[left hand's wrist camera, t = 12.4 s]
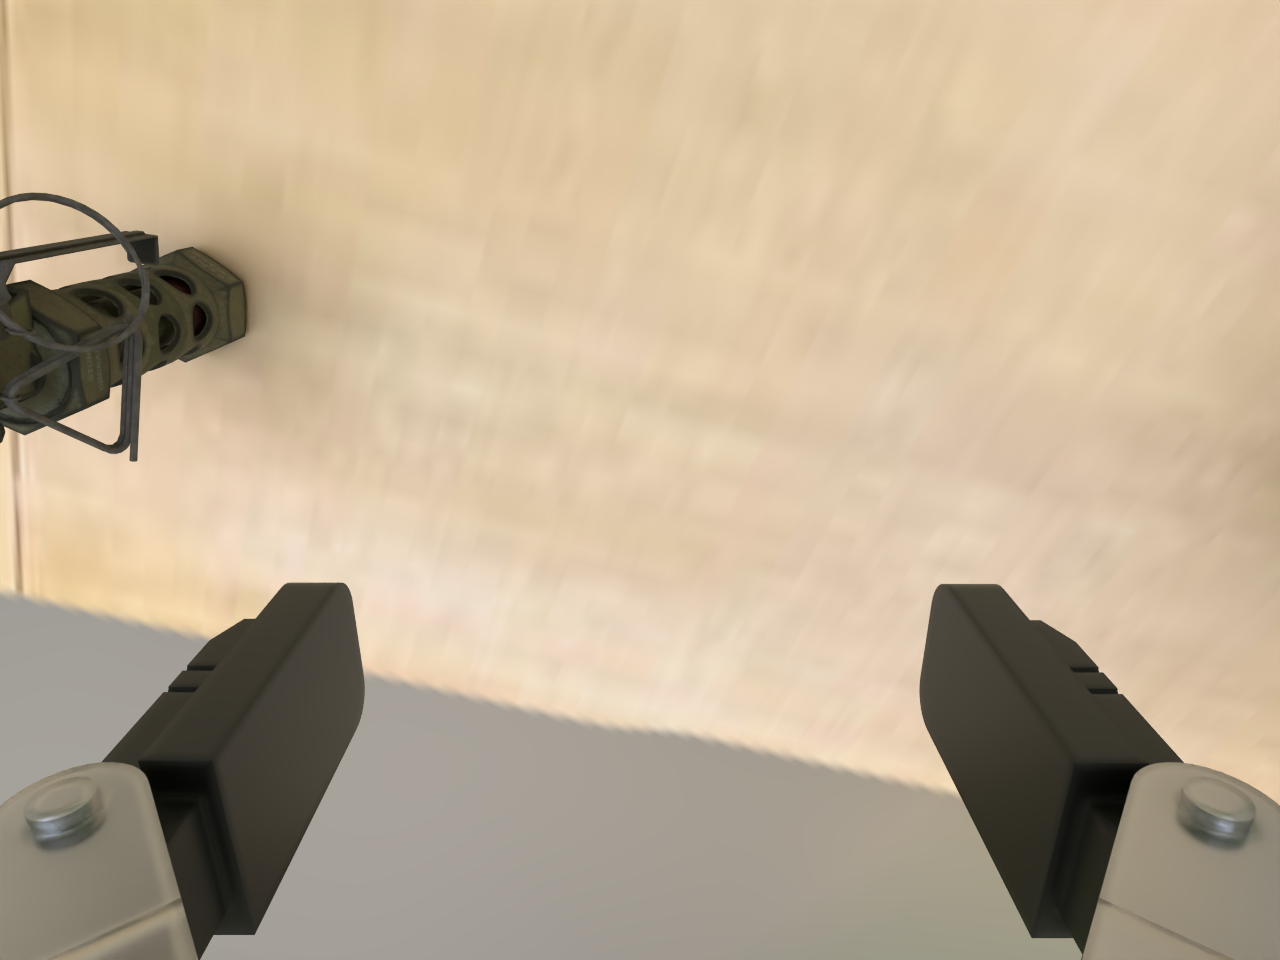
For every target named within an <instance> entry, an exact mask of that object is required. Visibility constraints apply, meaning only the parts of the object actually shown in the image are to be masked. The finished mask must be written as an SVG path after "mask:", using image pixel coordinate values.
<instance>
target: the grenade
mask: <svg viewBox="0 0 1280 960" xmlns="http://www.w3.org/2000/svg"><path fill="white" fill-rule="evenodd" d="M28 200H40V201H51V202H55V203H59V204H62V205H65V206H69V207H72V208H74V209H76V210H79V211H81V212H82V213H84V214H86V215H88V216H89V217H91V218H93V219H94V220H96V221H97V222H98V223H100V224H101V225H102V226H104V227H105V228H106V229H107V230H108V231H109V232H110V233H111V234H105V235H99V236H93V237H87V238H81V239H75V240H69V241H63V242H57V243H51V244H45V245H39V246H33V247H27V248H21V249H15V250H9V251H3V252H0V443H1V442H2V441H3V438H4V435H5V429H4V426H5V427H7V428H9V429H11V430H14V431H16V432H18V433H21V434H23V435H27V434H29V433H31V432H34V431H36V430H38V429H41V428H43V427H45V426H49V427H51V428H53V429H55V430H57V431H60V432H62V433H64V434H66V435H69V436H71V437H73V438H75V439H78V440H80V441H82V442H84V443H87V444H89V445H91V446H93V447H95V448H98V449H100V450H102V451H105V452H108V453H110V454H117V453H121V452H123V451H124V450H126V449H127V448H128V446H129V445H130V461H132V462H134V461H137V453H138V432H139V411H140V390H141V375H143V374H145V373H146V372H147V371H151V370H155V369H157V368H160V367H162V366H165V365H167V364H169V363H172V362H174V361H175V360H177V359H179V360H181V361H183V362H188V361H190V360H192V359H195V358H197V357H199V356H201V355H204V354H206V353H208V352H211V351H213V350H215V349H218V348H220V347H222V346H224V345H227V344H229V343H231V342H233V341H236V340H238V339H240V338H242V337H244V336H245V329H246V302H245V293H244V287H243V282H242V281H241V280H240V279H239V278H237V277H236V276H235V275H234V274H233V273H232V272H230V271H229V270H228V269H226V268H225V267H223V266H222V265H221V264H219V263H218V262H216V261H215V260H213V259H212V258H210V257H209V256H207V255H205V254H204V253H202V252H200V251H198V250H197V249H195V248H193V247H190V248H185V249H180V250H176V251H174V252H171V253H169V254H167V255H164V256H162V257H160V258H159V248H158V236H156V235H149V234H145V233H144V232H143V231H132V232H128V231H123V232H120V231H119V230H118V229H117V228H116V227H115V226H114V225H113V224H112V223H111V222H110V221H109V220H107V219H106V218H105V217H103V216H102V215H101V214H99V213H98V212H96V211H94V210H93V209H91V208H89V207H87V206H86V205H84V204H81V203H79V202H77V201H74V200H72V199H69V198H65V197H62V196H58V195H53V194H47V193H24V194H18V195H14V196H10V197H7V198H5V199H2V200H0V209H1V208H3V207H5V206H7V205H10V204H12V203H14V202H21V201H28ZM117 244H121V245H122V246H123V248H124V249H125V250H126V252H127V257H128V261H130V262H134V263H136V265H137V267H138V268H136V269H134V270H132V271H130V272H127V273H122V274H117V275H113V276H108V277H106V278H103V279H99V280H92V281H87V282H82V283H78V284H73V285H69V286H65V287H62V288H59V289H56V290H50V289H48V288H46V287H44V286H42V285H40V284H38V283H36V282H34V281H32V280H27V281H22V282H17V283H12V284H7V285H6V282H7V280H8V278H9V276H10V273H11V271H12V269H13V267H14V265H15V264H16V263H21V262H27V261H32V260H37V259H43V258H48V257H53V256H59V255H64V254H69V253H75V252H80V251H85V250H91V249H96V248H101V247H107V246H112V245H117ZM142 264H144V265H142ZM121 384H122V400H121V422H120V435H119V437H118V440H117V442H115V443H114V444H113V445H106V444H104V443H102V442H100V441H97V440H95V439H93V438H91V437H89V436H86V435H84V434H82V433H80V432H78V431H76V430H73V429H71V428H69V427H67V426H65V425H62V424H60V423H58V422H57V421H59V420H61V419H64V418H66V417H68V416H70V415H73V414H75V413H77V412H80V411H82V410H84V409H86V408H89V407H91V406H93V405H95V404H97V403H100V402H102V401H104V400H106V399H108V398H109V396H110V388H111V387H115V386H118V385H121Z"/></svg>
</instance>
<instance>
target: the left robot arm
mask: <svg viewBox="0 0 1280 960" xmlns="http://www.w3.org/2000/svg"><path fill="white" fill-rule="evenodd" d="M364 692H365V686H364V675H363V668H362V661H361V655H360V648H359V641H358V634H357V628H356V621H355V614H354V608H353V601H352V596H351V593H350V590H349V588H348V587H347V585H346V584H344V583H287V584H285V585H284V586H283V587H282V588H281V589H280V590H279V591H278V592H277V594H276V595H275V596H274V597H273V598H272V600H271V601H270V602H269V603H268V604H267V606H266V607H265V608H264V609H263V610H262V612H261V613H260V614H259V615H258V616H257V618H256V619H243V620H242V621H240V622H239V623H237V624H235V625H234V626H232V627H231V628H229V629H227V630H226V631H224V632H222V633H221V634H219V635H218V636H216V637H214V638H213V639H211V640H210V641H209V642H208V643H207V644H206V645H205V646H204V647H203V649H202V650H201V651H200V652H199V653H198V654H197V655H196V656H195V658H194V659H193V660H192V661H191V662H190V663H189V664H188V666H187V671H182V672H181V673H180V674H179V676H178V677H177V678H176V679H175V680H174V681H173V682H172V683H171V685H170V686H169V690H168V692H163V694H162V695H161V696H160V697H159V698H158V699H157V700H156V701H155V703H154V704H153V705H152V706H151V707H150V708H149V709H148V710H147V712H146V713H145V714H144V715H143V716H142V717H141V718H140V719H139V721H138V722H137V723H136V724H135V725H134V726H133V727H132V728H131V730H130V731H129V732H128V733H127V734H126V735H125V736H124V737H123V739H122V740H121V741H120V742H119V743H118V744H117V745H116V746H115V748H114V749H113V750H112V751H111V752H110V753H109V754H108V755H107V757H106V758H105V759H104V760H103V761H102V762H101V763H93V764H87V765H82V766H78V767H74V768H70V769H67V770H64V771H61V772H58V773H56V774H53V775H51V776H48V777H46V778H44V779H41V780H40V781H37V782H35V783H33V784H31V785H30V786H28V787H26V788H25V789H23V790H21V791H19V792H18V793H16V794H15V795H14V796H12V797H11V798H9V799H8V800H7V801H5V802H4V803H3V804H2V805H1V806H0V960H200V958H201V957H202V955H203V953H204V951H205V949H206V947H207V946H208V944H209V942H210V940H211V938H212V937H213V935H255V933H256V931H257V929H258V927H259V925H260V923H261V921H262V919H263V917H264V915H265V913H266V911H267V909H268V907H269V905H270V903H271V901H272V899H273V896H274V895H275V893H276V890H277V888H278V886H279V884H280V882H281V880H282V878H283V876H284V874H285V872H286V870H287V868H288V866H289V864H290V862H291V860H292V858H293V856H294V854H295V852H296V850H297V848H298V846H299V844H300V842H301V840H302V838H303V836H304V834H305V832H306V830H307V828H308V826H309V824H310V822H311V820H312V818H313V816H314V814H315V812H316V810H317V808H318V806H319V804H320V802H321V800H322V798H323V796H324V794H325V792H326V790H327V787H328V785H329V783H330V781H331V779H332V777H333V775H334V773H335V771H336V769H337V767H338V765H339V763H340V761H341V759H342V757H343V755H344V753H345V751H346V749H347V747H348V745H349V743H350V741H351V739H352V737H353V735H354V733H355V731H356V729H357V727H358V724H359V721H360V718H361V715H362V710H363V704H364ZM920 704H921V710H922V715H923V719H924V722H925V725H926V728H927V730H928V732H929V734H930V736H931V738H932V740H933V742H934V744H935V746H936V748H937V750H938V752H939V754H940V756H941V758H942V760H943V762H944V764H945V766H946V768H947V770H948V772H949V774H950V776H951V778H952V780H953V782H954V784H955V786H956V788H957V790H958V792H959V794H960V796H961V798H962V800H963V802H964V804H965V806H966V808H967V810H968V812H969V814H970V816H971V818H972V820H973V822H974V824H975V826H976V828H977V830H978V832H979V834H980V836H981V838H982V840H983V842H984V844H985V846H986V848H987V850H988V852H989V854H990V856H991V858H992V860H993V862H994V864H995V866H996V868H997V870H998V871H999V874H1000V876H1001V878H1002V880H1003V882H1004V884H1005V886H1006V888H1007V889H1008V891H1009V894H1010V895H1011V897H1012V899H1013V902H1014V903H1015V905H1016V908H1017V910H1018V911H1019V913H1020V915H1021V917H1022V919H1023V921H1024V923H1025V925H1026V927H1027V929H1028V931H1029V933H1030V935H1031V937H1032V938H1074V940H1075V942H1076V944H1077V946H1078V947H1079V949H1080V951H1081V953H1082V958H1081V960H1280V806H1279V805H1278V804H1277V803H1276V802H1275V801H1274V800H1272V799H1271V798H1269V797H1268V796H1266V795H1265V794H1264V793H1262V792H1261V791H1259V790H1257V789H1255V788H1254V787H1252V786H1250V785H1249V784H1247V783H1245V782H1243V781H1241V780H1239V779H1236V778H1234V777H1232V776H1229V775H1227V774H1224V773H1222V772H1219V771H1216V770H1213V769H1210V768H1206V767H1202V766H1198V765H1193V764H1187V763H1184V762H1183V761H1182V760H1181V759H1180V758H1179V757H1178V756H1177V754H1176V753H1175V752H1174V751H1173V750H1172V749H1171V748H1170V747H1169V746H1168V744H1167V743H1166V742H1165V741H1164V740H1163V739H1162V738H1161V737H1160V736H1159V734H1158V733H1157V732H1156V731H1155V730H1154V729H1153V728H1152V727H1151V725H1150V724H1149V723H1148V722H1147V721H1146V720H1145V719H1144V718H1143V717H1142V715H1141V714H1140V713H1139V712H1138V711H1137V710H1136V709H1135V708H1134V707H1133V705H1132V704H1131V703H1130V702H1129V701H1128V700H1127V699H1126V698H1125V696H1124V695H1123V694H1118V692H1117V688H1116V686H1115V685H1114V684H1113V683H1112V682H1111V681H1110V680H1109V679H1108V678H1107V676H1106V675H1105V674H1104V673H1099V671H1098V666H1097V665H1096V664H1095V663H1094V662H1093V661H1092V660H1091V659H1090V657H1089V656H1088V655H1087V654H1086V653H1085V652H1084V651H1083V650H1082V649H1081V647H1080V646H1079V645H1078V644H1077V643H1076V642H1075V641H1073V640H1072V639H1070V638H1068V637H1067V636H1065V635H1063V634H1062V633H1060V632H1059V631H1057V630H1055V629H1054V628H1052V627H1051V626H1049V625H1047V624H1046V623H1044V622H1042V621H1041V620H1029V619H1028V618H1027V616H1026V615H1025V614H1024V613H1023V612H1022V611H1021V609H1020V608H1019V607H1018V606H1017V605H1016V603H1015V602H1014V601H1013V600H1012V599H1011V597H1010V596H1009V595H1008V594H1007V593H1006V591H1005V590H1004V589H1003V588H1002V587H1001V586H999V585H997V584H941V585H939V586H938V587H937V589H936V590H935V593H934V596H933V600H932V605H931V612H930V618H929V625H928V631H927V638H926V645H925V651H924V658H923V664H922V671H921V678H920Z"/></svg>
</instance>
